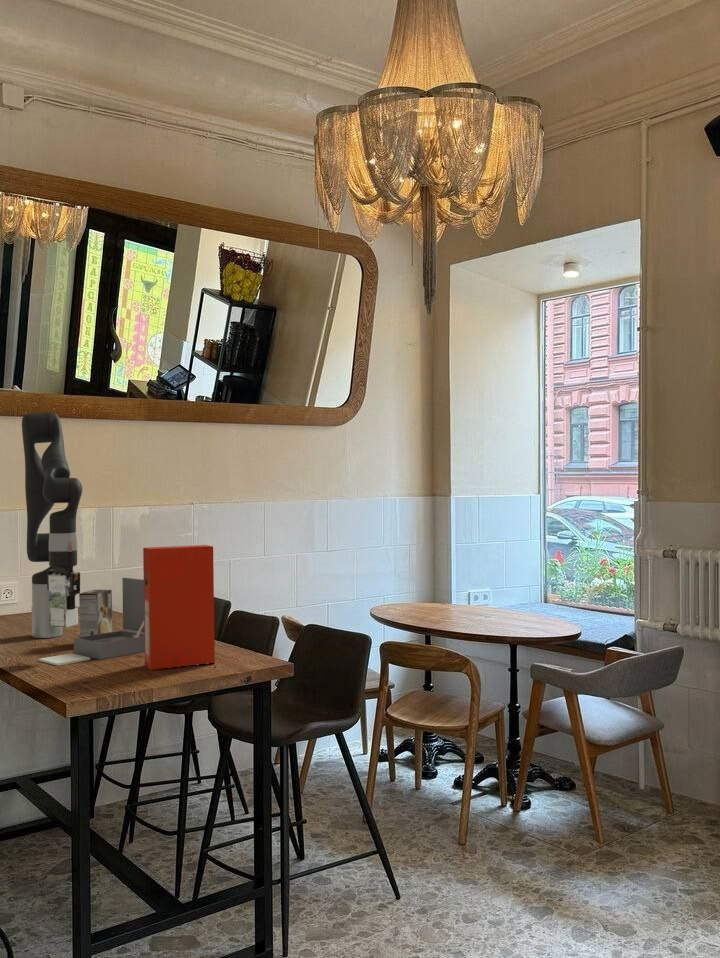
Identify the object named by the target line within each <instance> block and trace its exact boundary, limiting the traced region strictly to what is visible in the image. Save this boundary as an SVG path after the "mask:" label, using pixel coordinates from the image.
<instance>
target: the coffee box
mask: <svg viewBox="0 0 720 958" xmlns="http://www.w3.org/2000/svg"><path fill="white" fill-rule="evenodd" d="M112 592H113V590H112V589H92V590H89V591H83V592H80V593H79V594H78V596H79V598H78V600H79V637H83V636H89V635H95V634H102V633H108V632H113V598H112V597H113V595H112V594H113V593H112Z"/></svg>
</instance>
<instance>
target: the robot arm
mask: <svg viewBox="0 0 720 958" xmlns="http://www.w3.org/2000/svg"><path fill="white" fill-rule="evenodd" d="M62 428H63V427H62V422H61V419H60V416H59V415H58V414H57V413H56V412H53V411H47V412H44V411H43V412H30V413H25V414H23V416H22V420H21V433H22V443H23V454H24V474H25V475H24V478H25V479H24V482H25V483H24V488H25V502H26V505H25V506H26V518H27V519H26V522H27V523H26V524H27V525H26V555H27V560H28V561H30V562H32V563H42V562H43V563H46V562H47V563H48V566H49V567H47V568H45V569H44V570H42V571H39V572H36V573H34V574H33V575H31V598H32V599H31V604H32V605H31V636H32V637H33V638H39V639H42V638H43V639H49V638H57V637H60V636H64V635H63V632H64V631H63V628H64V627H52V626H50V618H49V575H52V574H54V575H57V574H58V575H59V576H62V575H65V576H66V578H67V580H68V579H69V581H70V585H66V586H65V585H64V587H65V588H66V594H67V596H66V602H67V609H68V610H72V609H75V595H76V594H78V595H79V594H80V593H81V572H80V571H74V567H75V566H77V565H78V539H77V513H78V508H79V504H80V501H81V497H82V495H83V494H82V493H83V485H82V482H81V481H80V480H79V479H78V478H76V477H71V470H70V467H69V464H68V460H67V457H66V453H65V442H64V435H63V429H62ZM44 443H45V444H46V443H50V444H49V445H48V447H46V449H45V450H44V452H43V453H42V455H41V456H40V455H39V454H38V453H39V452H38V451H37V450H36V448H35V445H36V444H44ZM65 503H66V504H67V506H66V507H65V508H64V509H62V510H58V511H54V512H52V513H50V514H49V521H48V522H49V533H48V532H47V533H41V532H40V533H39V532H38V531H39V529H40V526H41V524H42V522H43V520H44V519H45V518H46V516H47V515H48V513H49V512H50V511H51V510H52V508H53V506H54V505H55V504H65ZM75 586H76V589H75ZM69 589H70V591H69Z"/></svg>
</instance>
